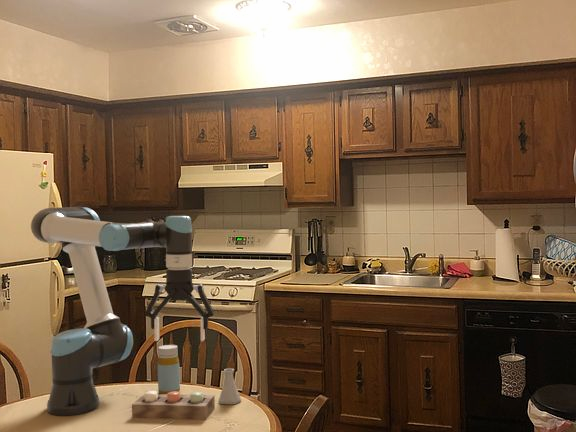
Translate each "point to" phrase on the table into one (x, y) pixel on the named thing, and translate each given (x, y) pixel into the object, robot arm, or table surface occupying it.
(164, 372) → the bottle
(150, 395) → the button ivory
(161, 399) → the console
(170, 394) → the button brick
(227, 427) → the table surface
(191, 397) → the button sage
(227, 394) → the flask
